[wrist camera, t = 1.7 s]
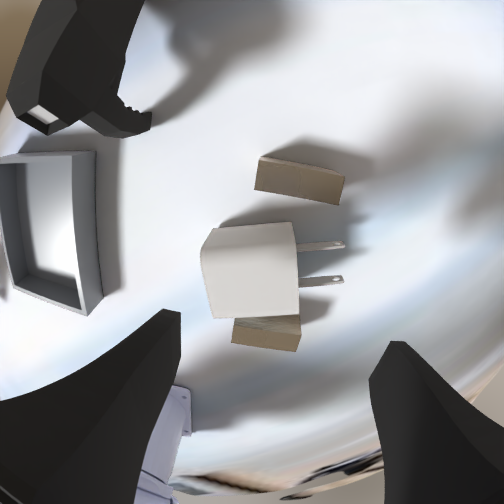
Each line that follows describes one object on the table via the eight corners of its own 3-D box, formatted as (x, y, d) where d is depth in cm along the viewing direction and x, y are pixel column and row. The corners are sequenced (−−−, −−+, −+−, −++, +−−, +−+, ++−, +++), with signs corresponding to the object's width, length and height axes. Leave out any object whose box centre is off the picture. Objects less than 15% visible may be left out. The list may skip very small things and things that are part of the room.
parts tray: (103, 297, 19) (87, 316, 16) (29, 274, 19) (13, 288, 17) (96, 151, 14) (71, 155, 12) (16, 153, 14) (-6, 158, 12)
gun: (184, 1, 14) (145, -87, 4) (161, 176, 13) (13, 61, 3) (151, 10, 15) (105, -71, 5) (115, 185, 13) (-34, 106, 4)
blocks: (293, 327, 18) (295, 351, 16) (235, 319, 18) (231, 342, 16) (334, 170, 14) (344, 176, 12) (260, 156, 14) (258, 159, 12)
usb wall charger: (215, 224, 16) (198, 252, 12) (335, 215, 15) (354, 240, 12) (225, 285, 18) (214, 324, 14) (335, 277, 17) (350, 315, 13)
